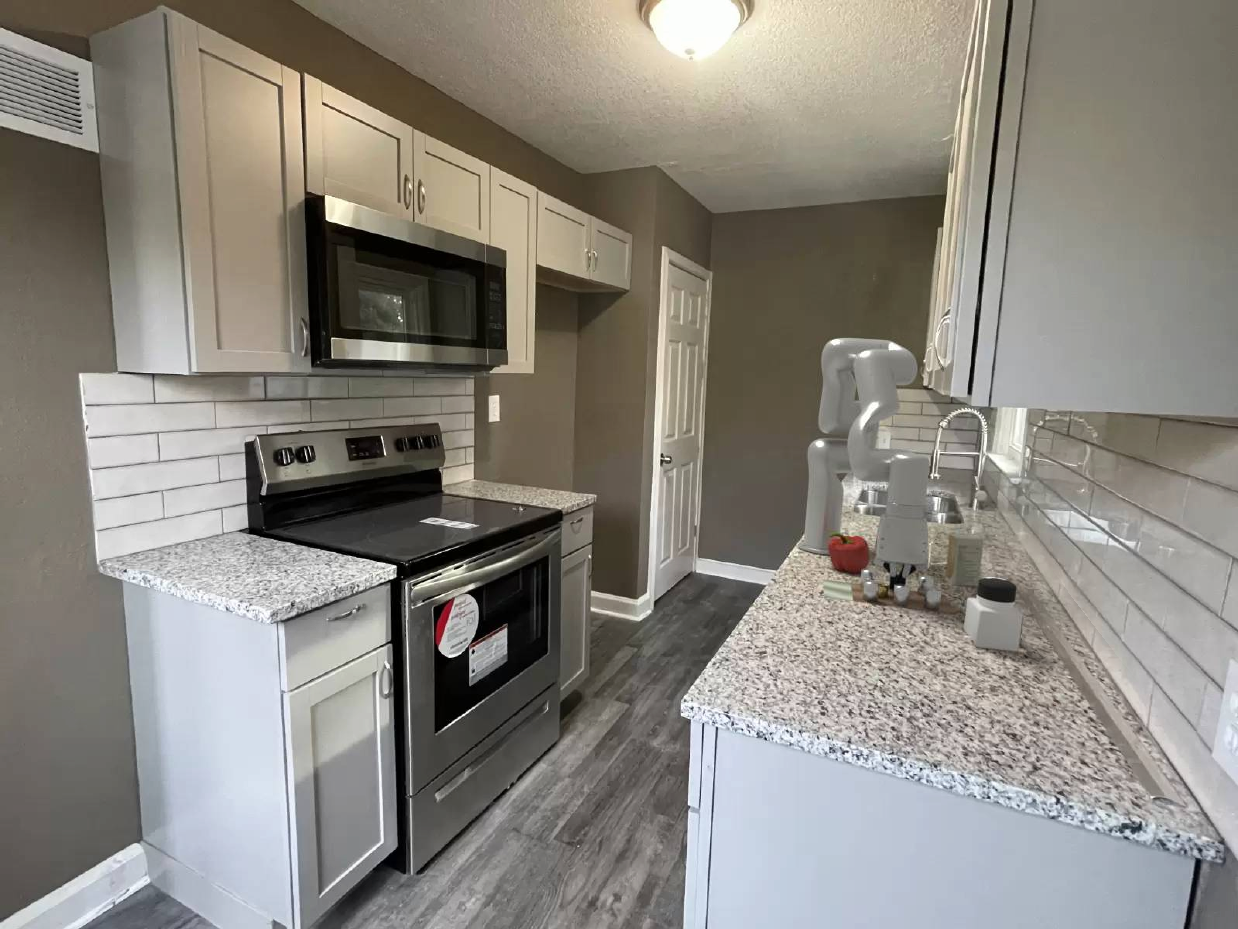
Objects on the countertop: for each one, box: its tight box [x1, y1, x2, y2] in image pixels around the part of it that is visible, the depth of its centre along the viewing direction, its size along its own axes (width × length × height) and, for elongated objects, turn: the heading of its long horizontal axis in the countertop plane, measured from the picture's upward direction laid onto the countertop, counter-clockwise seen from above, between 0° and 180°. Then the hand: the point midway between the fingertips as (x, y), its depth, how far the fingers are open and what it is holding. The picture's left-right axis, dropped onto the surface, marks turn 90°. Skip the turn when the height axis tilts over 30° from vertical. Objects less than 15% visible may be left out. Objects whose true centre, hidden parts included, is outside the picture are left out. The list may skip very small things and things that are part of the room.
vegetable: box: [828, 532, 870, 574], centre depth 157 cm, size 11×10×10 cm
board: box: [822, 579, 958, 616], centre depth 138 cm, size 13×26×1 cm, turn 72°
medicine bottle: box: [963, 576, 1024, 653], centre depth 115 cm, size 7×7×12 cm
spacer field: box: [859, 567, 942, 611], centre depth 137 cm, size 12×15×4 cm
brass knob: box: [876, 580, 889, 598], centre depth 138 cm, size 4×4×2 cm
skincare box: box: [944, 533, 984, 588], centre depth 149 cm, size 6×4×12 cm
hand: (896, 593), depth 137 cm, fingers closed
